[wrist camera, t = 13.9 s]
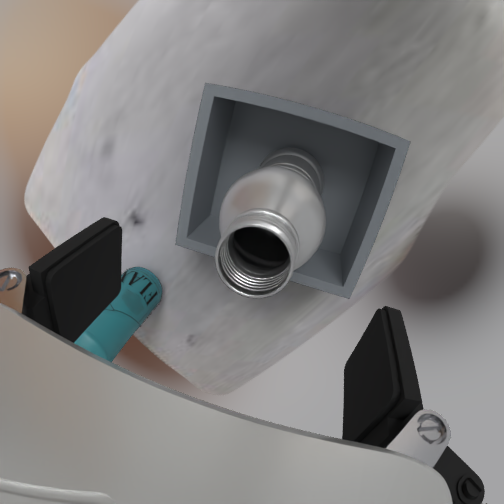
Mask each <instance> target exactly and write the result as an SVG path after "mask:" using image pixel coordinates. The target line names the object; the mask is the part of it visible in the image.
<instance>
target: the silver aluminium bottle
mask: <svg viewBox="0 0 504 504" xmlns="http://www.w3.org/2000/svg"><path fill="white" fill-rule="evenodd" d="M323 188H324V176H323V172H322V169H321V167H320V165H319V163H318V162H317V161H316V159H315V158H314V157H313V156H312V155H310V154H309V153H308V152H306V151H304V150H301V149H297V148H282V149H279V150H276V151H274V152H272V153H271V154H269V155H268V156H267V157H266V158H265V159H264V160H263V162H262V163H261V164H260V167H259V168H258V169H256V170H253V171H251V172H248V173H247V174H245V175H243V176H242V177H240V178H239V179H238V180H237V181H236V182H235V183H234V184H233V185H232V186H231V187H230V188H229V190H228V191H227V193H226V195H225V197H224V199H223V202H222V205H221V210H220V217H219V229H220V234H221V239H220V240H219V243H218V245H217V248H216V253H215V264H216V269H217V272H218V274H219V276H220V278H221V279H222V281H223V282H224V283H225V284H226V285H227V286H228V288H230V289H231V290H232V291H234V292H235V293H237V294H239V295H241V296H245V297H248V298H265V297H269V296H272V295H274V294H276V293H278V292H279V291H281V290H282V289H283V288H284V287H285V286H286V285H287V283H288V282H289V280H290V278H291V277H292V274H293V271H294V270H295V269H297V268H299V267H301V266H302V265H303V264H304V263H306V262H307V261H308V260H309V259H310V258H311V257H312V256H313V254H314V253H315V252H316V251H317V249H318V248H319V246H320V244H321V242H322V240H323V237H324V234H325V228H326V214H325V209H324V205H323V202H322V199H321V195H322V192H323Z"/></svg>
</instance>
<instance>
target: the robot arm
mask: <svg viewBox="0 0 504 504" xmlns="http://www.w3.org/2000/svg"><path fill="white" fill-rule="evenodd" d="M121 253H122V228H121V227H120V226H119V223H118V222H117V221H115V220H112V219H109V218H105V217H104V218H101V219H100V220H98V221H97V222H95V223H93V224H92V225H90V226H89V227H87V228H85V229H84V230H82V231H81V232H79V233H78V234H76V235H75V236H73V237H71V238H70V239H68V240H67V241H65V242H64V243H62V244H61V245H59V246H58V247H56V248H55V249H54V250H52V251H51V252H49V253H48V254H46V255H45V256H43V257H42V258H41V259H39V260H38V261H36V262H35V263H33V264H32V265H31V266H29V271H30V274H28V275H27V276H26V274H25V273H24V271H22V270H21V269H18V268H5V269H2V270H0V504H482V501H483V498H484V492H485V491H484V485H483V483H482V480H481V479H480V478H479V476H478V475H477V474H476V473H475V472H474V471H473V470H472V469H471V468H470V467H469V466H468V465H467V464H466V463H465V462H464V461H463V460H461V458H460V457H458V456H457V455H456V454H455V453H454V452H453V451H452V450H451V449H450V448H449V447H448V446H447V445H448V443H449V440H450V438H451V431H450V427H449V425H448V423H447V421H446V420H445V419H444V418H443V417H442V416H441V415H440V414H438V413H437V412H435V411H432V410H427V409H424V410H423V405H422V399H421V394H420V389H419V384H418V379H417V374H416V370H415V366H414V361H413V357H412V352H411V348H410V344H409V340H408V336H407V333H406V329H405V325H404V321H403V317H402V314H401V311H400V310H397V309H394V308H390V307H387V306H385V307H383V308H382V309H378V310H377V311H376V312H375V314H374V316H373V318H372V320H371V322H370V323H369V325H368V327H367V329H366V330H365V332H364V334H363V336H362V337H361V339H360V341H359V342H358V344H357V346H356V347H355V349H354V351H353V352H352V354H351V356H350V358H349V359H348V361H347V363H346V365H345V369H344V411H343V436H342V439H338V438H334V437H329V436H324V435H320V434H316V433H311V432H307V431H303V430H299V429H295V428H291V427H287V426H283V425H279V424H275V423H272V422H268V421H265V420H261V419H258V418H254V417H251V416H248V415H244V414H241V413H238V412H235V411H232V410H229V409H226V408H223V407H220V406H217V405H214V404H211V403H208V402H205V401H202V400H199V399H197V398H194V397H191V396H189V395H186V394H183V393H181V392H178V391H176V390H173V389H171V388H168V387H165V386H163V385H161V384H159V383H156V382H154V381H151V380H149V379H147V378H144V377H142V376H140V375H138V374H135V373H133V372H131V371H129V370H127V369H124V368H122V367H120V366H118V365H116V364H114V363H112V362H110V361H108V360H106V359H103V358H101V357H99V356H97V355H95V354H93V353H92V352H90V351H88V350H86V349H84V348H82V347H80V346H78V345H76V344H74V342H75V341H76V340H77V339H78V338H79V337H80V336H81V334H82V333H83V332H84V331H85V330H86V329H87V328H88V327H89V326H90V325H91V324H92V323H93V321H94V320H95V319H96V318H97V317H98V316H99V315H100V314H101V313H102V312H103V311H104V310H105V309H106V308H107V307H108V305H109V304H110V303H111V302H112V301H113V300H114V299H115V298H116V297H117V296H118V295H119V293H120V291H121ZM486 504H487V503H486Z"/></svg>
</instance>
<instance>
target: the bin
mask: <svg viewBox="0 0 504 504" xmlns="http://www.w3.org/2000/svg"><path fill="white" fill-rule="evenodd" d="M409 145H410V141H408V140H406V139H403V138H401V137H398V136H396V135H393V134H391V133H388V132H386V131H383V130H380V129H378V128H375V127H372V126H369V125H367V124H364V123H361V122H358V121H355V120H352V119H349V118H346V117H343V116H340V115H337V114H334V113H331V112H328V111H324V110H321V109H318V108H314V107H311V106H307V105H304V104H300V103H296V102H293V101H289V100H285V99H281V98H277V97H273V96H269V95H264V94H260V93H256V92H251V91H246V90H241V89H236V88H231V87H226V86H221V85H215V84H209V83H205V86H204V91H203V95H202V100H201V104H200V109H199V113H198V118H197V123H196V127H195V132H194V137H193V142H192V147H191V153H190V158H189V163H188V169H187V174H186V180H185V186H184V192H183V198H182V204H181V210H180V217H179V223H178V230H177V237H176V244H175V245H178V246H181V247H184V248H188V249H191V250H194V251H197V252H200V253H203V254H206V255H209V256H212V257H215V253H216V248H217V245H218V243H219V240H220V239H221V234H220V229H219V217H220V210H221V205H222V202H223V199H224V197H225V195H226V193H227V191H228V190H229V188H230V187H231V186H232V185H233V184H234V183H235V182H236V181H237V180H238V179H239V178H240V177H242V176H243V175H245V174H247V173H248V172H251V171H253V170H256V169H258V168H259V167H260V164H261V163H262V162H263V160H264V159H265V158H266V157H267V156H268V155H269V154H271V153H272V152H274V151H276V150H279V149H282V148H297V149H301V150H304V151H306V152H308V153H309V154H310V155H312V156H313V157H314V158H315V159H316V161H317V162H318V163H319V165H320V167H321V169H322V172H323V176H324V188H323V192H322V195H321V199H322V202H323V205H324V209H325V214H326V228H325V234H324V237H323V240H322V242H321V244H320V246H319V248H318V249H317V251H316V252H315V253H314V254H313V256H312V257H311V258H310V259H309V260H308V261H307V262H306V263H304V264H303V265H302V266H301V267H299V268H297V269H295V270H294V271H293V274H292V277H291V278H290V280H289V281H292V282H295V283H299V284H302V285H305V286H308V287H312V288H315V289H318V290H322V291H325V292H328V293H331V294H335V295H338V296H341V297H345V298H348V299H349V298H350V296H351V294H352V292H353V290H354V288H355V285H356V283H357V281H358V279H359V277H360V274H361V272H362V270H363V267H364V265H365V263H366V261H367V258H368V256H369V253H370V251H371V249H372V246H373V244H374V241H375V239H376V237H377V234H378V232H379V229H380V227H381V224H382V221H383V219H384V216H385V214H386V211H387V208H388V206H389V203H390V200H391V198H392V195H393V192H394V189H395V187H396V184H397V181H398V178H399V175H400V172H401V169H402V166H403V163H404V160H405V157H406V154H407V151H408V148H409Z"/></svg>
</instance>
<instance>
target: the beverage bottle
mask: <svg viewBox="0 0 504 504" xmlns="http://www.w3.org/2000/svg"><path fill="white" fill-rule="evenodd" d="M126 270H127V269H126ZM161 297H162V288H161V284H160V282H159V280H158V279H157V277H156V276H155V275H154V274H153V273H152V272H150V271H149V270H147V269H145V268H141V267H133V268H131V269H128V270H127V271H126V272H124V273H123V274H122V275H121V291H120V293H119V295H118V296H117V297H116V298H115V299H114V300H113V301H112V302H111V303H110V304H109V305H108V307H107V308H106V309H105V310H104V311H103V312H102V313H101V314H100V315H99V316H98V317H97V318H96V319H95V320H94V321H93V323H92V324H91V325H90V326H89V327H88V328H87V329H86V330H85V331H84V332H83V333H82V334H81V336H80V337H79V338H78V339H77V340H76V341H75V342H74V344H76V345H78V346H80V347H82V348H84V349H86V350H88V351H90V352H92V353H93V354H95V355H97V356H99V357H101V358H103V359H106V360H108V361H110V362H112V361H113V359H114V358H115V357H116V355H117V354H118V353H119V351H120V350H121V349H122V348H123V346H124V345H125V344H126V342H127V341H128V340H129V339H130V337H131V336H132V335H133V333H134V332H135V331H136V330H137V329H138V328H139V327H141V326H140V325H141V324H142V323H143V322H145V321H146V320H145V319H146V318H148V315H149V314H150V315H151V314H152V313H151V312H152V310H153V309H154V308H155V309H156V307H157V304H158V303H159V302H161V301H160V299H161ZM153 311H154V310H153ZM144 320H145V321H144Z"/></svg>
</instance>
